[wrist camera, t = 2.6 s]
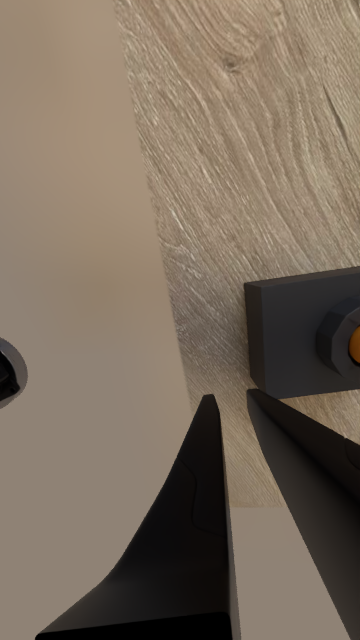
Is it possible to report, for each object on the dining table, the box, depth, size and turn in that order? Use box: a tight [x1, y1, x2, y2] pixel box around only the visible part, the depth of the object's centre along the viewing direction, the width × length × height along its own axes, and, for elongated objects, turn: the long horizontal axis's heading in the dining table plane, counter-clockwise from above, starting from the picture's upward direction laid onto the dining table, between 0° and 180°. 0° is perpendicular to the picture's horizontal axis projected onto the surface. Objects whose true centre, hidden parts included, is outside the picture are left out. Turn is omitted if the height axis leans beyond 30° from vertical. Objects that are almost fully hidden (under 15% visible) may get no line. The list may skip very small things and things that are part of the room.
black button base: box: [244, 266, 360, 399], centre depth 18 cm, size 11×10×6 cm
